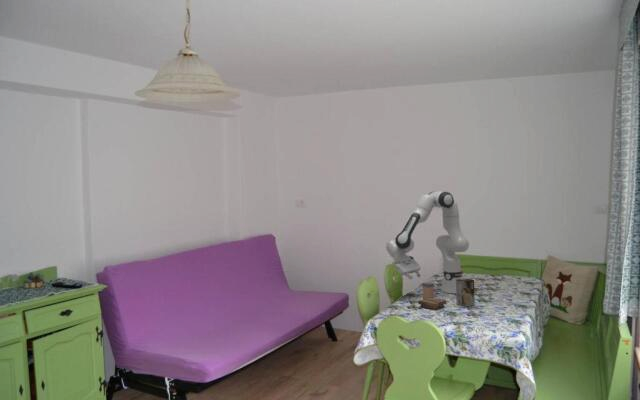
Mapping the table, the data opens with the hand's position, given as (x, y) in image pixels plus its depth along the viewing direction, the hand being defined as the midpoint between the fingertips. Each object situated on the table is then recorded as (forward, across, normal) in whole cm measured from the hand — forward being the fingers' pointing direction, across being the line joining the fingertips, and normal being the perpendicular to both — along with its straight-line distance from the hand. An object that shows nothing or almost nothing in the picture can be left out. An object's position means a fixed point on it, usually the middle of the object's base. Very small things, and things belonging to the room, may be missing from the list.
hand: (415, 277), depth 327 cm
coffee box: (+33, +7, -12) cm, 35 cm away
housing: (+17, 0, +4) cm, 17 cm away
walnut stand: (+23, -10, -3) cm, 25 cm away
